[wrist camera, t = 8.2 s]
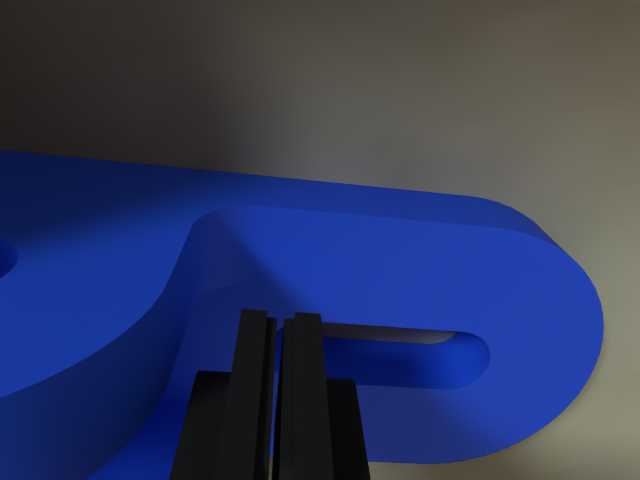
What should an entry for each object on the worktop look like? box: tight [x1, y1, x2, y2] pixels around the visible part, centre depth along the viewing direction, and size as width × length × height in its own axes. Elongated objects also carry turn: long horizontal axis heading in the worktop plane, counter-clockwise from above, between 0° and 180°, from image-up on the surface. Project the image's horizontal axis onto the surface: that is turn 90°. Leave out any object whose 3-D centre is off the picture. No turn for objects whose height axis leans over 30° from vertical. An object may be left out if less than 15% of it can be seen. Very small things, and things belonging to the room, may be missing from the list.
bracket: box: [0, 150, 604, 480], centre depth 11 cm, size 18×8×9 cm, turn 83°
